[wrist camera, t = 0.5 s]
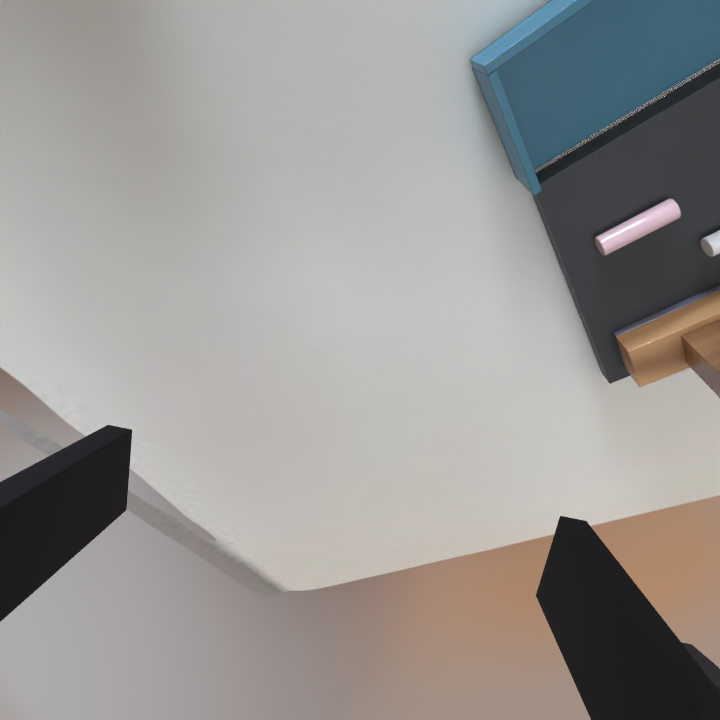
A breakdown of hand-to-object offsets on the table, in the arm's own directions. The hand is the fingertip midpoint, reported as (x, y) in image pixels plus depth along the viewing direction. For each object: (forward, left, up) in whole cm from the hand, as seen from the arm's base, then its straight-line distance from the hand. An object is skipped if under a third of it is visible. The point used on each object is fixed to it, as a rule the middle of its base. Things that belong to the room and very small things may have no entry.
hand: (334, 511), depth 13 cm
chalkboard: (+5, +23, -21) cm, 32 cm away
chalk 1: (+2, +19, -19) cm, 27 cm away
